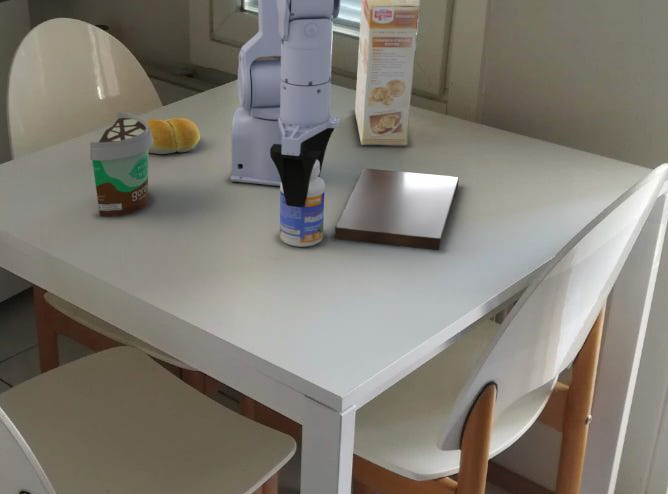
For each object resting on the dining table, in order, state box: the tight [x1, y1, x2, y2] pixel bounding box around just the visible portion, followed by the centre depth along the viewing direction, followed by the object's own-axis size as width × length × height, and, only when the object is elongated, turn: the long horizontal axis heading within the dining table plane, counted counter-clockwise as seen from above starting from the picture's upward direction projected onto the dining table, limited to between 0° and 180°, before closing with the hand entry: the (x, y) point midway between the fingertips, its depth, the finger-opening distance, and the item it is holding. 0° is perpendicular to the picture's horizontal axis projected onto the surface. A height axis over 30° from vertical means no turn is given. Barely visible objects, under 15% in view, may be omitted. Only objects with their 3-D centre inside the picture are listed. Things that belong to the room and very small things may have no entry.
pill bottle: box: [279, 160, 326, 248], centre depth 134 cm, size 5×5×10 cm
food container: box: [89, 111, 153, 217], centre depth 143 cm, size 12×6×10 cm, turn 168°
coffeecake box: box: [354, 0, 420, 146], centre depth 162 cm, size 15×7×20 cm, turn 179°
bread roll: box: [146, 117, 201, 155], centre depth 161 cm, size 8×9×4 cm
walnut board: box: [334, 167, 460, 251], centre depth 143 cm, size 13×20×2 cm, turn 165°
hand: (302, 193), depth 133 cm, fingers open, 7 cm apart
